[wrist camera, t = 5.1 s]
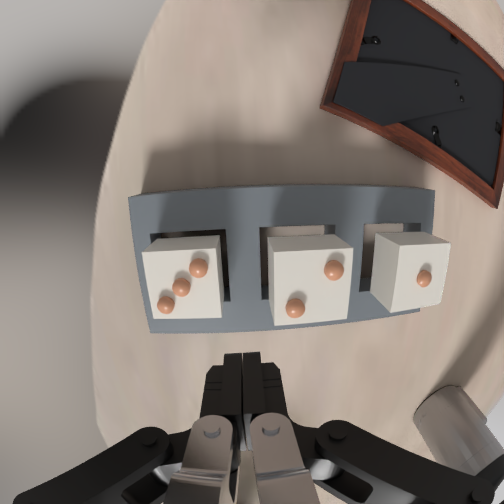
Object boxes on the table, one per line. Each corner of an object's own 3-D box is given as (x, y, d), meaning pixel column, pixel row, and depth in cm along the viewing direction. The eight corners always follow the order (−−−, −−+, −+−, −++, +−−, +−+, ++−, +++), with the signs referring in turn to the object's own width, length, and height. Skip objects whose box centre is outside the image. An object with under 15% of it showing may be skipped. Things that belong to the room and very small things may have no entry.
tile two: (332, 232, 21) (355, 249, 16) (329, 293, 22) (348, 321, 18) (266, 235, 21) (274, 254, 16) (268, 297, 22) (275, 329, 18)
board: (417, 187, 24) (434, 190, 21) (405, 299, 27) (419, 311, 24) (140, 193, 23) (128, 197, 20) (158, 317, 26) (150, 333, 23)
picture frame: (317, 109, 22) (488, 206, 25) (323, 104, 20) (498, 209, 23) (357, -25, 17) (504, 81, 20) (363, -34, 15) (513, 79, 18)
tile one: (420, 230, 21) (454, 244, 17) (413, 284, 22) (442, 306, 18) (372, 231, 21) (402, 247, 16) (367, 289, 22) (392, 315, 18)
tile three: (220, 233, 22) (215, 250, 17) (224, 292, 23) (221, 320, 19) (158, 237, 22) (139, 254, 17) (166, 294, 23) (152, 321, 19)
